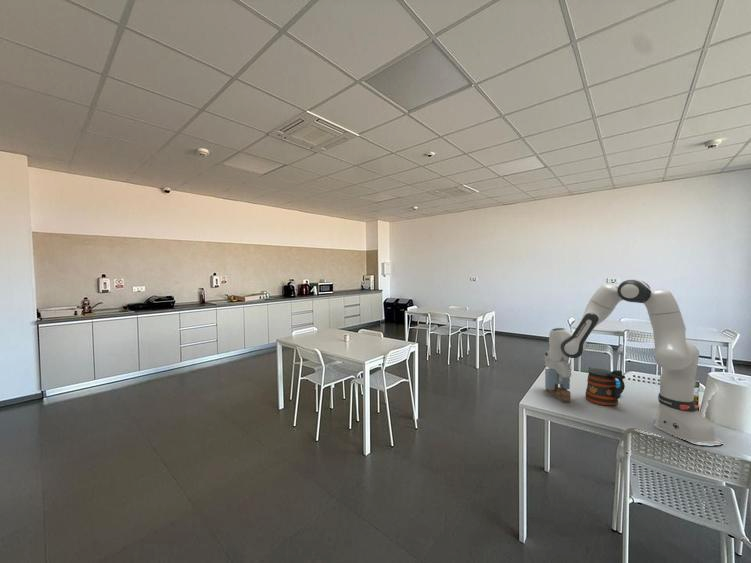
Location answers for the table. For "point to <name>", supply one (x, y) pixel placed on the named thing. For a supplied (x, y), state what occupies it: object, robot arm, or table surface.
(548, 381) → the light blue block
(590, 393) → the beer stein
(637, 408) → the table surface
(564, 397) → the walnut rail
